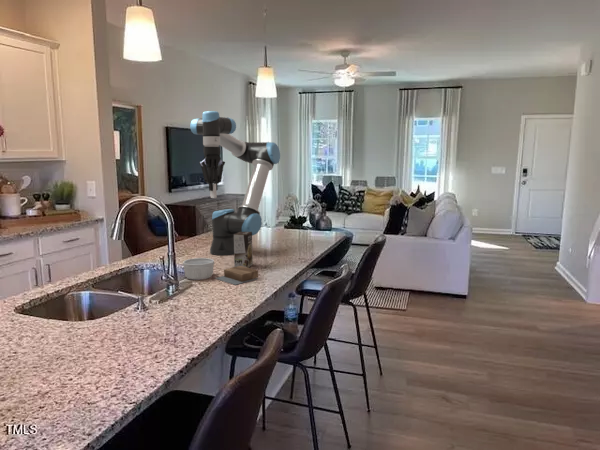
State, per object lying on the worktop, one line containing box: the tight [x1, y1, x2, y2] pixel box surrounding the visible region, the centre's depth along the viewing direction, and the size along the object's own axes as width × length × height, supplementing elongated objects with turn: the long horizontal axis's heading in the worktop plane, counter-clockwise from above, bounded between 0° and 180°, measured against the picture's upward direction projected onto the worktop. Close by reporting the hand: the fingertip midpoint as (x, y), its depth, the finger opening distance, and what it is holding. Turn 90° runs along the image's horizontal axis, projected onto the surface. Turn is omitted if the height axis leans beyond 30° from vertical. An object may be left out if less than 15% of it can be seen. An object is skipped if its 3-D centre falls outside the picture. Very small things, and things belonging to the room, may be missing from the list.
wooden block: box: [223, 266, 259, 282], centre depth 192 cm, size 3×12×9 cm
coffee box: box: [233, 232, 254, 268], centre depth 210 cm, size 9×6×16 cm
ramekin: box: [182, 257, 215, 281], centre depth 194 cm, size 13×13×7 cm
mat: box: [214, 275, 259, 286], centre depth 190 cm, size 12×14×1 cm
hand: (213, 197), depth 207 cm, fingers closed
